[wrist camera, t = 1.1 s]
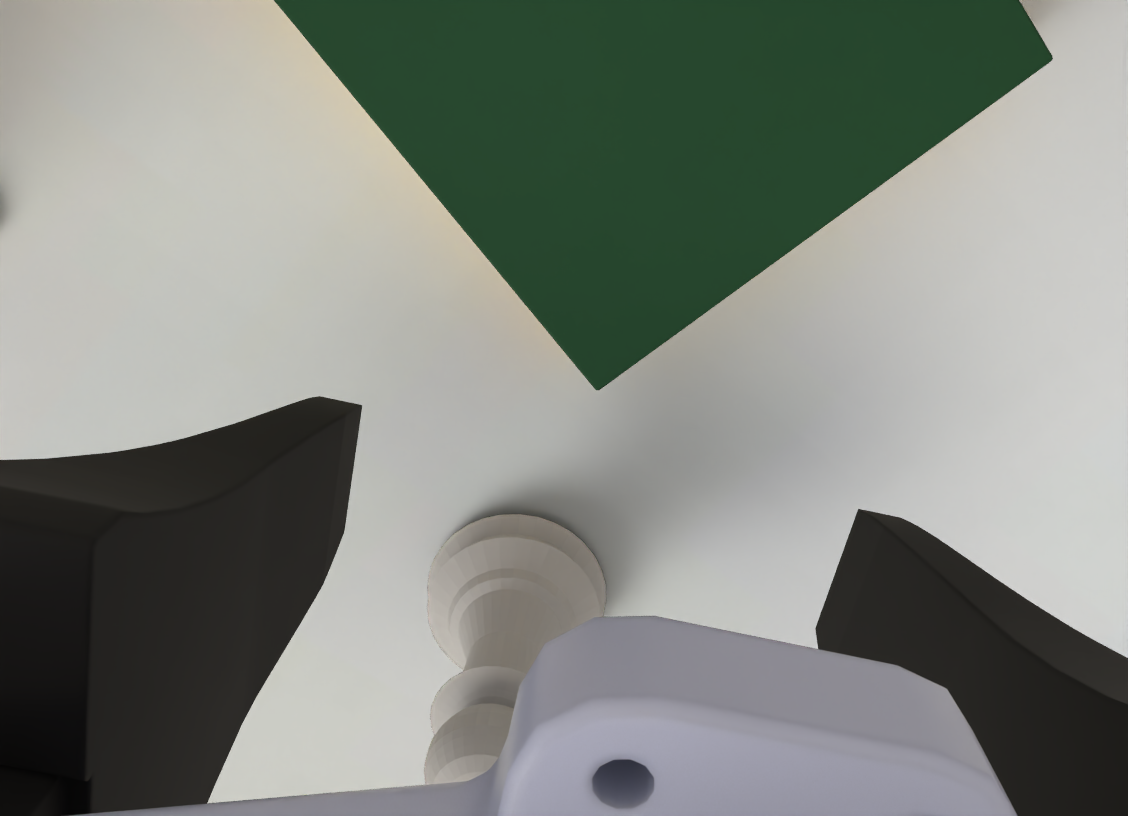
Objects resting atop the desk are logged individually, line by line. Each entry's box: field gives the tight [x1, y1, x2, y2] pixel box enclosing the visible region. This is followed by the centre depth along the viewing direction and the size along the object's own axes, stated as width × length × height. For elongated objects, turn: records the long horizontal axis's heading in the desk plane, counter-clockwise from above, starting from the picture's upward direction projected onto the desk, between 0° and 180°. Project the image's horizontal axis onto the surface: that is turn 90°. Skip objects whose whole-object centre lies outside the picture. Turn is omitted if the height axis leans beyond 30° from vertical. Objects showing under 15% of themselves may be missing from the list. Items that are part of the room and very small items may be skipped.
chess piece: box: [424, 514, 606, 785], centre depth 22 cm, size 5×5×8 cm
